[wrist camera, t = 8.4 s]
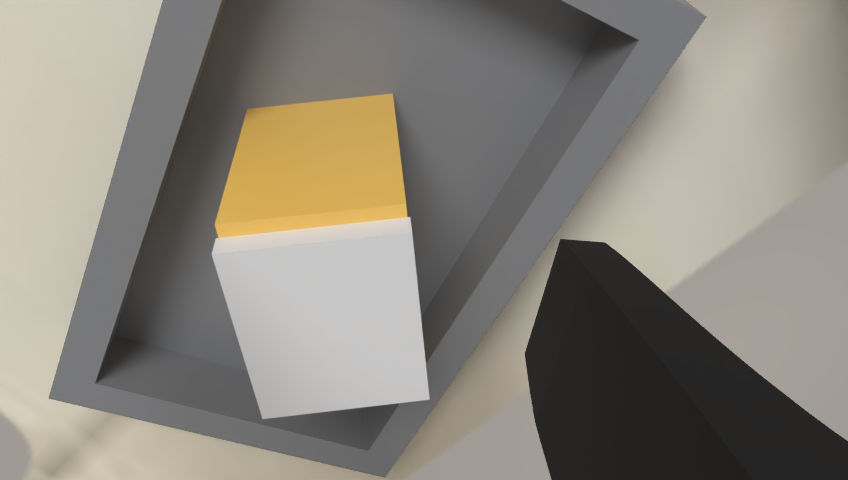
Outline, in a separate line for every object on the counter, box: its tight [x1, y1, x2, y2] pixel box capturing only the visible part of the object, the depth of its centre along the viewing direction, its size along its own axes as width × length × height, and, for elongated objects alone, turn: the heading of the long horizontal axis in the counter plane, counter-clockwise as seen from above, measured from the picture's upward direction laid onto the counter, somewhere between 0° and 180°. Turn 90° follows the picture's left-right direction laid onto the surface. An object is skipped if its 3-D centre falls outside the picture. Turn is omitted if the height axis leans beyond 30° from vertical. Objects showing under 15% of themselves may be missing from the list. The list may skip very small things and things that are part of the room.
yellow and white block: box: [212, 94, 430, 419], centre depth 16 cm, size 4×5×6 cm
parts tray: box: [49, 0, 706, 477], centre depth 18 cm, size 10×16×2 cm, turn 154°
